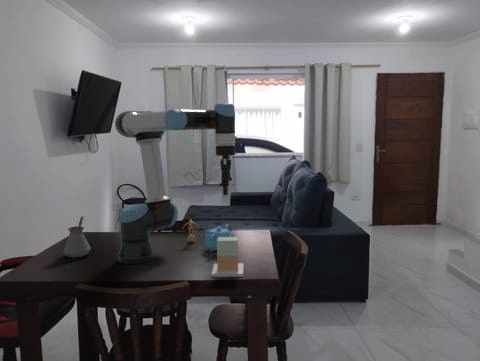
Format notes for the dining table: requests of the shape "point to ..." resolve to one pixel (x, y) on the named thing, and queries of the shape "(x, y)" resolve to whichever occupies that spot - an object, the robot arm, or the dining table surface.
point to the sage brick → (227, 246)
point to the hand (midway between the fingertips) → (226, 200)
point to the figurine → (191, 237)
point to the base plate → (227, 272)
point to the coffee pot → (76, 242)
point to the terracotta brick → (227, 263)
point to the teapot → (216, 237)
